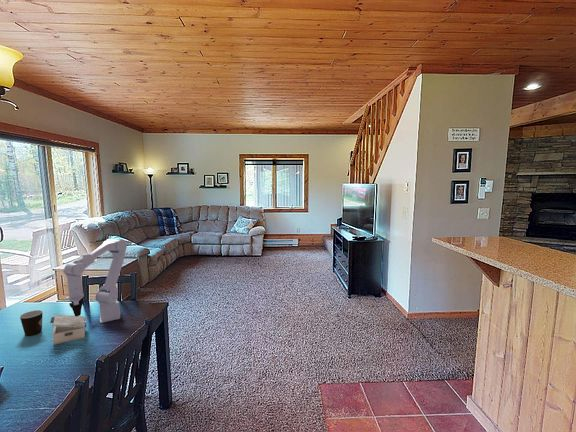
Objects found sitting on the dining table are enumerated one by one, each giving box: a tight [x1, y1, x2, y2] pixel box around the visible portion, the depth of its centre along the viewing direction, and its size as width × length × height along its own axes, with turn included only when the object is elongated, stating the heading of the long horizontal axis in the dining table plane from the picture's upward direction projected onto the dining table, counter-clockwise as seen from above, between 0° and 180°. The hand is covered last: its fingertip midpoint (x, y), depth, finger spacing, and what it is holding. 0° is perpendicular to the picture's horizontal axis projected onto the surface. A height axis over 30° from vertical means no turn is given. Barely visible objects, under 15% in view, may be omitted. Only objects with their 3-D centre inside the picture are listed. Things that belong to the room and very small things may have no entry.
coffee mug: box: [19, 309, 44, 337], centre depth 151 cm, size 12×9×10 cm
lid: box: [49, 313, 85, 328], centre depth 147 cm, size 14×12×1 cm
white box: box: [52, 316, 87, 346], centre depth 148 cm, size 13×15×5 cm
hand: (77, 313), depth 149 cm, fingers open, 5 cm apart
